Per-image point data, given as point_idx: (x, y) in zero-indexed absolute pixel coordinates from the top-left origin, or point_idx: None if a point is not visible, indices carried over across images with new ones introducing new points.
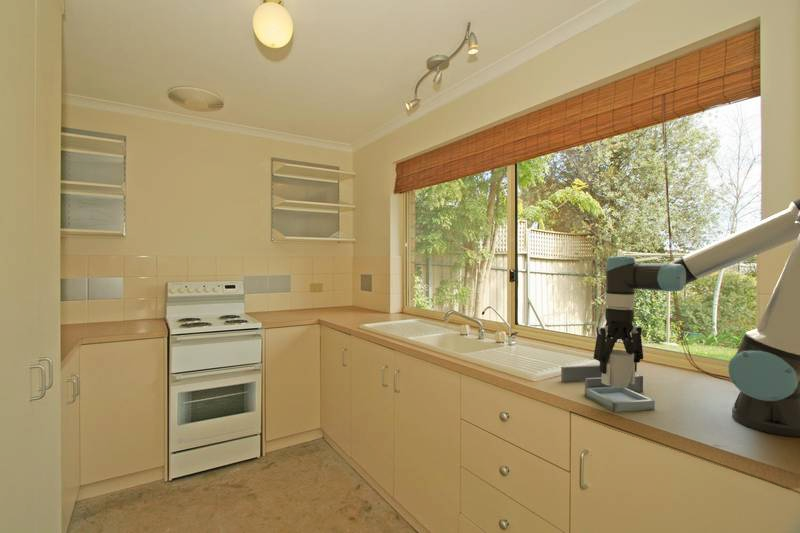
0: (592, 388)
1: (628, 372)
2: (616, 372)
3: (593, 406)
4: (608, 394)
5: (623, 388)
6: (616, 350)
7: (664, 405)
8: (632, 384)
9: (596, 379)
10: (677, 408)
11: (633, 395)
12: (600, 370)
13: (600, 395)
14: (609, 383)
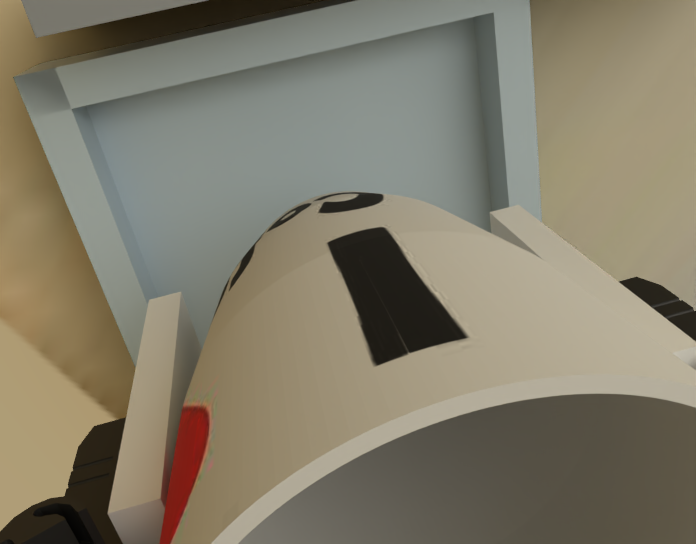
0: (113, 83)
1: (438, 533)
2: (287, 530)
3: (50, 337)
4: (290, 108)
5: (495, 53)
6: (655, 387)
7: (649, 250)
8: None
9: (190, 3)
10: (689, 298)
11: (496, 189)
12: (84, 465)
13: (126, 311)
14: None
